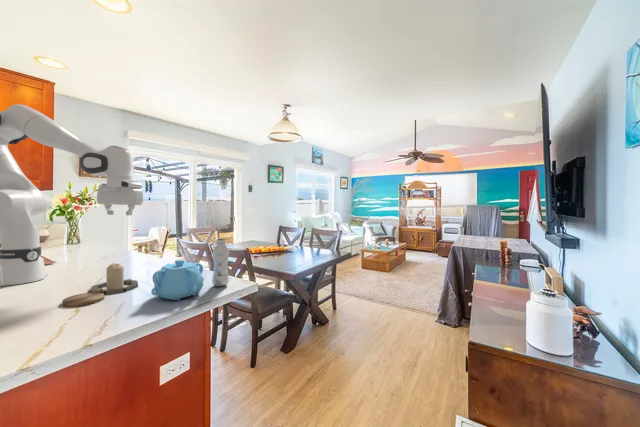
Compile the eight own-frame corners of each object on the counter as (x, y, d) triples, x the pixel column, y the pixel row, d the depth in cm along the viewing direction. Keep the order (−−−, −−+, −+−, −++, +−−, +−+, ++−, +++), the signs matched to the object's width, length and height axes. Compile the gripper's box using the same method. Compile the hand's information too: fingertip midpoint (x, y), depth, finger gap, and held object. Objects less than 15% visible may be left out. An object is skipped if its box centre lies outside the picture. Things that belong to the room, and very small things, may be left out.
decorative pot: (166, 289, 108) (166, 256, 108) (207, 288, 110) (207, 255, 110) (145, 304, 92) (145, 265, 92) (194, 302, 94) (194, 264, 94)
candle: (127, 286, 110) (127, 262, 110) (115, 290, 105) (115, 265, 104) (114, 285, 111) (114, 262, 110) (102, 290, 105) (102, 265, 105)
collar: (80, 292, 101) (80, 288, 101) (115, 281, 116) (115, 277, 116) (114, 295, 99) (114, 291, 99) (146, 284, 114) (146, 279, 114)
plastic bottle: (211, 284, 115) (212, 238, 115) (228, 282, 118) (228, 238, 117) (212, 289, 109) (212, 240, 109) (229, 287, 112) (230, 240, 112)
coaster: (53, 305, 89) (53, 302, 89) (86, 294, 100) (86, 291, 100) (81, 308, 87) (81, 304, 87) (112, 296, 98) (112, 293, 98)
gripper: (92, 182, 115) (92, 214, 116) (133, 183, 112) (133, 216, 113) (105, 183, 122) (105, 214, 122) (145, 184, 119) (145, 215, 119)
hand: (119, 215), depth 118 cm, fingers open, 8 cm apart
